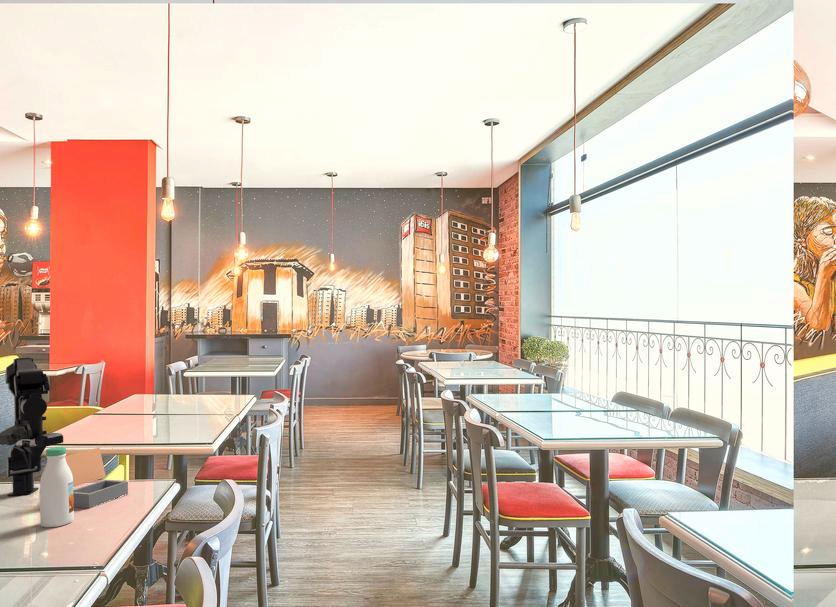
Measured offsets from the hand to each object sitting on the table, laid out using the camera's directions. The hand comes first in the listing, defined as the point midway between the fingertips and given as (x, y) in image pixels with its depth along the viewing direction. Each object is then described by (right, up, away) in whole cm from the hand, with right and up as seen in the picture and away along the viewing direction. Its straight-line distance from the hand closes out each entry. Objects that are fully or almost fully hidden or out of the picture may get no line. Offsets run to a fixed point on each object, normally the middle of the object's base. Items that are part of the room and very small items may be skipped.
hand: (31, 468), depth 174 cm
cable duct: (+15, -12, +8) cm, 21 cm away
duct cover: (+9, -2, +11) cm, 14 cm away
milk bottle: (+15, -12, -12) cm, 22 cm away
